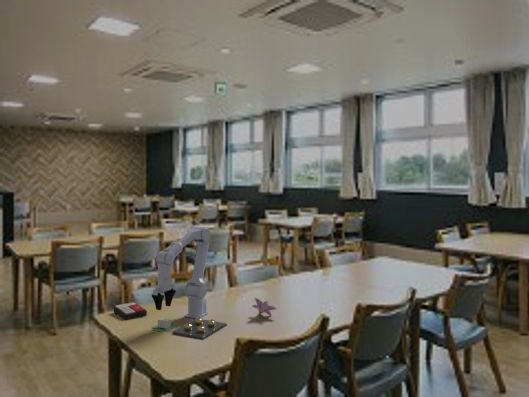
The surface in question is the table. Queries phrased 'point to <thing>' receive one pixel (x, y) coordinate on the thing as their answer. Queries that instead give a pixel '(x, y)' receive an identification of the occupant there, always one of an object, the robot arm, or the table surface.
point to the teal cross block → (164, 325)
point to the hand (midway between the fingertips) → (163, 307)
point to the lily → (263, 307)
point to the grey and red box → (129, 311)
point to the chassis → (199, 328)
